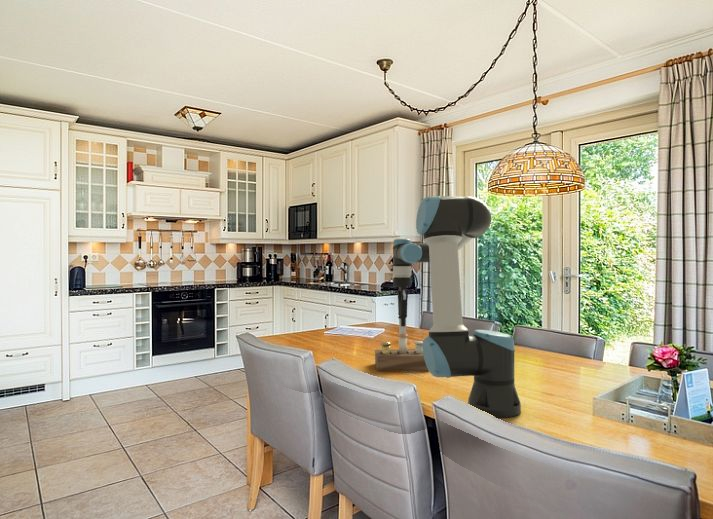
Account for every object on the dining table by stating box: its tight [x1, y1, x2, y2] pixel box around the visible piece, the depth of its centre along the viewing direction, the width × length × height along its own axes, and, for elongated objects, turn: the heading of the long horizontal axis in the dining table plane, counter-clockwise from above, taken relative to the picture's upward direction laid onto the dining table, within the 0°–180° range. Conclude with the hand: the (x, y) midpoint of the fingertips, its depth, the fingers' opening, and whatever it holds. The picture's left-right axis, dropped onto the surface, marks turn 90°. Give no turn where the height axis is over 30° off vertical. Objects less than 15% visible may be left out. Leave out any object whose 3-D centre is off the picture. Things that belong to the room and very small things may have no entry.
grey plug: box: [414, 340, 423, 353], centre depth 187 cm, size 4×4×9 cm
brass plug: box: [380, 341, 392, 354], centre depth 187 cm, size 4×4×9 cm
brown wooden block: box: [374, 348, 429, 372], centre depth 187 cm, size 12×22×6 cm, turn 92°
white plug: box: [397, 333, 409, 354], centre depth 187 cm, size 4×4×9 cm
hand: (402, 333), depth 187 cm, fingers closed
